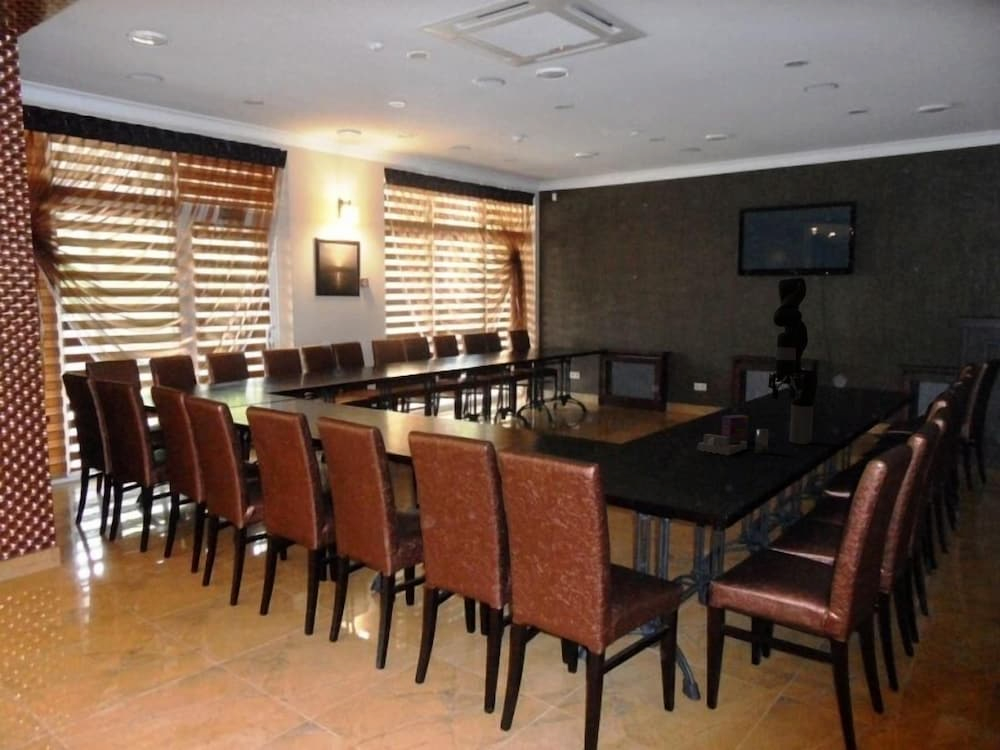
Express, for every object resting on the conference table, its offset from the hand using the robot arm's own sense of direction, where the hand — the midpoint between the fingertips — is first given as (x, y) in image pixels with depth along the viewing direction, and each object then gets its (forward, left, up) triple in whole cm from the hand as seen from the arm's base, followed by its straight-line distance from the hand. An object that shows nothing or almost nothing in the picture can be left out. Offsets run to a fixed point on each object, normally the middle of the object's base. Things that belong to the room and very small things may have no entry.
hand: (783, 398), depth 291 cm
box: (-21, -28, -25) cm, 43 cm away
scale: (-1, -25, -25) cm, 35 cm away
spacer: (-6, -10, -25) cm, 28 cm away
